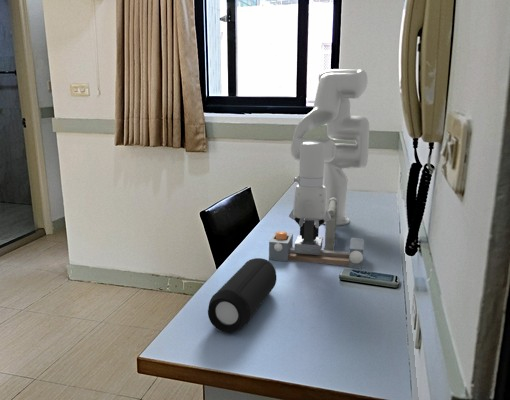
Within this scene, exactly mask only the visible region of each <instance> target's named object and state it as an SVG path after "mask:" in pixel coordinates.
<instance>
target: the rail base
mask: <svg viewBox="0 0 510 400" xmlns="http://www.w3.org/2000/svg"><path fill="white" fill-rule="evenodd" d="M294 247H295V246H293V247H291V248H290V253H289V255H288V261H293V262H305V263H313V264H325V265H326V264H327V265H337V266H348V267H349V255H350V251H341V250H340V251H338V250H334V251H330V250H324V249H321V252H320V255H318V254H307V253H295V252H294Z"/></svg>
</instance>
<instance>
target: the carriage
mask: <svg viewBox="0 0 510 400" xmlns="http://www.w3.org/2000/svg"><path fill="white" fill-rule="evenodd" d="M314 226H315V219H304V239H302V235H300V234H299V235H297V237H296V240H295V242H294V246H293V247H294V252H295V253H307V254H318V255H320V252H321V250H323V249H322V248H323V238H324V237H322V236H318V237H316V240H314V239H313V231H314Z"/></svg>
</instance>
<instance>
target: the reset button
mask: <svg viewBox="0 0 510 400" xmlns="http://www.w3.org/2000/svg"><path fill="white" fill-rule="evenodd" d="M275 232H276V239H278V240H287V233H288V232H286V231H283V230H281V231H280V230H279V231H275Z"/></svg>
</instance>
